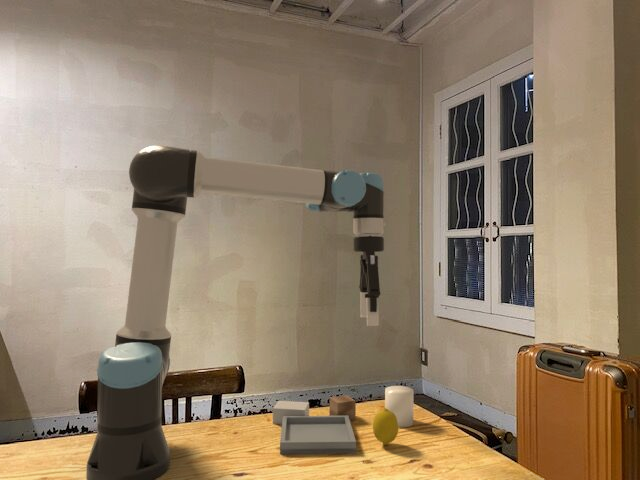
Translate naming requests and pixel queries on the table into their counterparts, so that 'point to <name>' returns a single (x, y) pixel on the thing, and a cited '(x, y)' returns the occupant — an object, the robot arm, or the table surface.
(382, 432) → the lemon
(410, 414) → the cream rounded cylinder
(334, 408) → the walnut block
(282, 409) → the grey box
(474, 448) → the table surface
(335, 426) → the dish
